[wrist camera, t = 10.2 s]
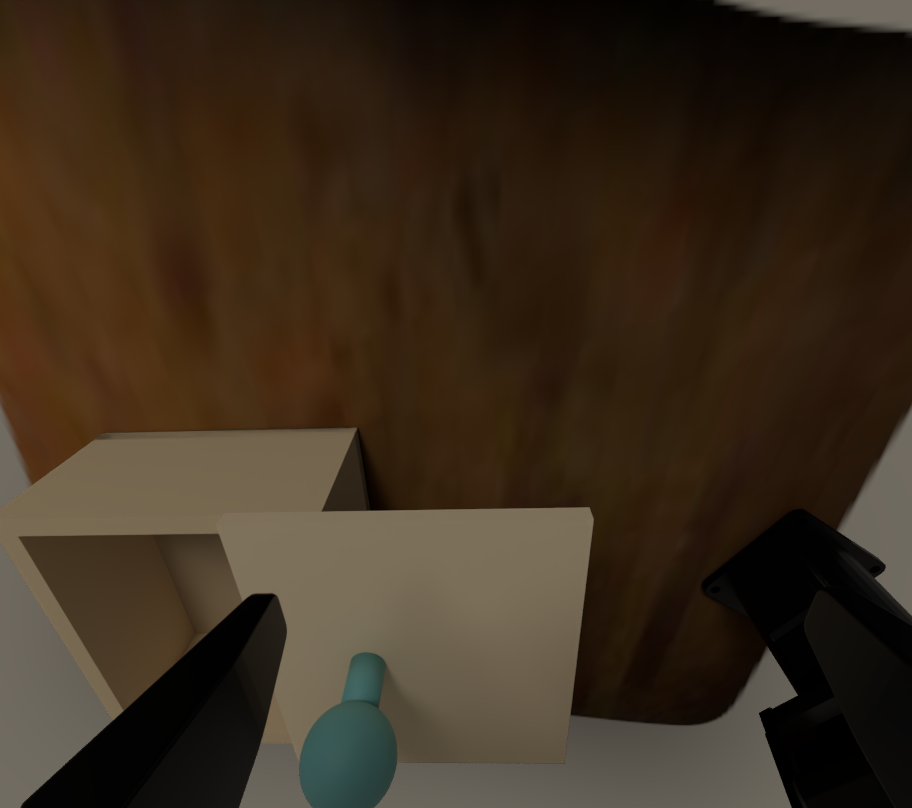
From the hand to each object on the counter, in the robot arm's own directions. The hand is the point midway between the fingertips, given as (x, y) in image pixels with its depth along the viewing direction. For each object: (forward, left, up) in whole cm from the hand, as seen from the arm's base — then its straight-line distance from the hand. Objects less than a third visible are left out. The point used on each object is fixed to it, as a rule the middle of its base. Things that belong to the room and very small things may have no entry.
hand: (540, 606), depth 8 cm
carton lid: (-3, +11, -7) cm, 13 cm away
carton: (+4, +16, -13) cm, 21 cm away
